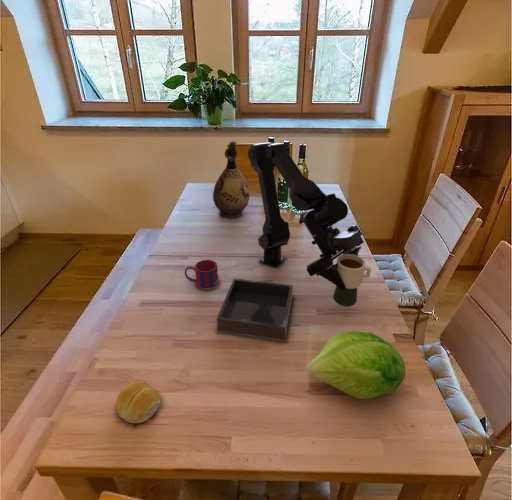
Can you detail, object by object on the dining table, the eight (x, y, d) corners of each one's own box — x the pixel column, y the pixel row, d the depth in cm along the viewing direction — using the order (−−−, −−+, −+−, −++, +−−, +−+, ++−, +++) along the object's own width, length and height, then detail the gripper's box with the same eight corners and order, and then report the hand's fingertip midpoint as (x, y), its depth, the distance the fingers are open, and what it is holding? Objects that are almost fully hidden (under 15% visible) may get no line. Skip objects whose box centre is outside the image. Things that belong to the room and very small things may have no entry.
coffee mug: (360, 292, 100) (368, 253, 93) (367, 309, 94) (377, 269, 87) (322, 292, 99) (327, 253, 92) (327, 309, 93) (332, 269, 86)
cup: (216, 291, 107) (214, 272, 103) (183, 289, 108) (181, 270, 104) (220, 278, 113) (219, 260, 109) (189, 276, 114) (187, 258, 110)
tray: (234, 291, 107) (233, 278, 104) (292, 298, 104) (293, 285, 102) (217, 332, 92) (216, 318, 90) (284, 341, 89) (285, 327, 87)
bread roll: (139, 381, 79) (135, 369, 77) (167, 401, 75) (165, 388, 73) (107, 409, 73) (103, 397, 71) (137, 432, 69) (133, 420, 67)
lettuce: (303, 356, 85) (307, 313, 78) (386, 356, 85) (398, 313, 78) (311, 414, 72) (317, 370, 65) (410, 415, 72) (427, 370, 65)
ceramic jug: (249, 221, 147) (248, 148, 131) (212, 220, 147) (206, 148, 131) (250, 204, 161) (249, 137, 146) (216, 204, 162) (212, 137, 146)
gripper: (321, 232, 80) (356, 291, 80) (363, 207, 92) (394, 259, 91) (292, 248, 89) (324, 302, 89) (333, 224, 101) (362, 271, 100)
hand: (352, 283), depth 92 cm, fingers closed on coffee mug, 7 cm apart
